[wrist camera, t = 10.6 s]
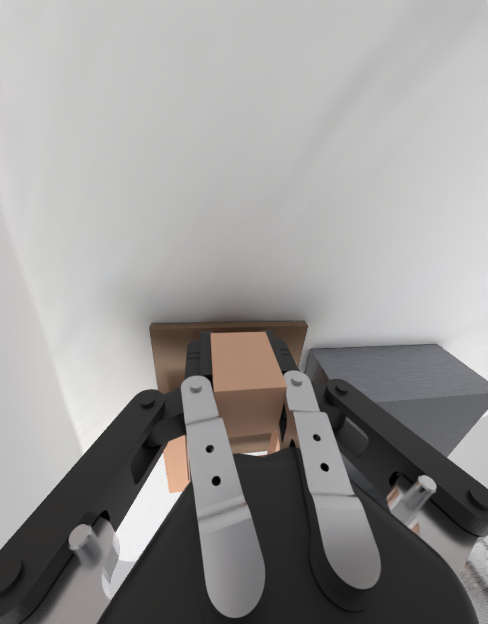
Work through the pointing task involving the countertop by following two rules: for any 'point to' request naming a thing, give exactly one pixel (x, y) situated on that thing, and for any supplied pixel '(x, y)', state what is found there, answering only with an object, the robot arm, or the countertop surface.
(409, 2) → the countertop surface
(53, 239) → the countertop surface
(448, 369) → the block
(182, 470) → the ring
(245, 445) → the board
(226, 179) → the countertop surface
